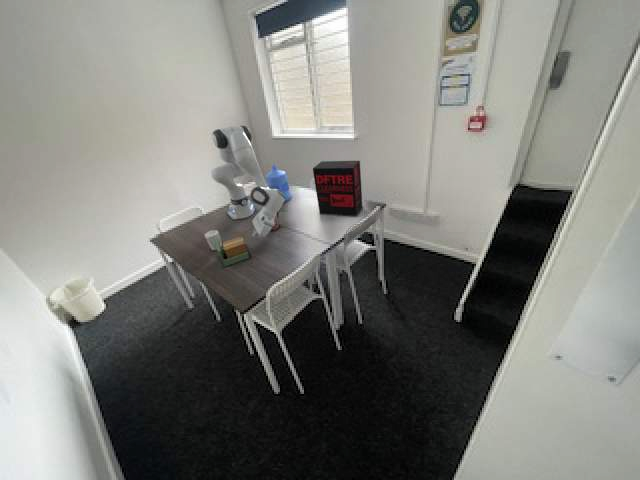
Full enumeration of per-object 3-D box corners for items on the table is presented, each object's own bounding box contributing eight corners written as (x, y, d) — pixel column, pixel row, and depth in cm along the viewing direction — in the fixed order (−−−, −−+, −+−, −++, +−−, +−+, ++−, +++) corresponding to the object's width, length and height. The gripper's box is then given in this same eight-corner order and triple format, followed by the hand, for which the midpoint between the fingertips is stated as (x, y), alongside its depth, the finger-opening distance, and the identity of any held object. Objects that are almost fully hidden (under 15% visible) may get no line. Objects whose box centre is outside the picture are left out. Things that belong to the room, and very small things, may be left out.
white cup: (212, 244, 164) (206, 231, 159) (224, 242, 164) (219, 229, 159) (209, 251, 158) (202, 238, 152) (221, 249, 158) (216, 235, 152)
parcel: (245, 248, 155) (241, 236, 151) (248, 255, 148) (244, 243, 143) (227, 254, 152) (222, 242, 147) (229, 262, 145) (224, 249, 140)
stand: (245, 246, 158) (240, 231, 152) (249, 257, 146) (244, 243, 141) (221, 254, 154) (215, 239, 148) (224, 266, 142) (217, 251, 137)
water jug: (271, 197, 218) (263, 164, 203) (289, 193, 220) (282, 160, 205) (273, 204, 205) (264, 169, 190) (292, 200, 207) (285, 165, 192)
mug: (274, 232, 167) (269, 214, 159) (263, 230, 171) (258, 212, 164) (286, 223, 175) (281, 205, 168) (275, 221, 180) (271, 203, 173)
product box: (319, 213, 180) (312, 168, 164) (327, 204, 191) (321, 161, 174) (356, 216, 170) (353, 168, 153) (362, 206, 181) (359, 160, 164)
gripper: (257, 207, 153) (245, 227, 156) (265, 221, 137) (252, 242, 140) (266, 212, 157) (254, 231, 160) (275, 225, 141) (262, 246, 143)
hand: (253, 236), depth 149 cm, fingers closed
